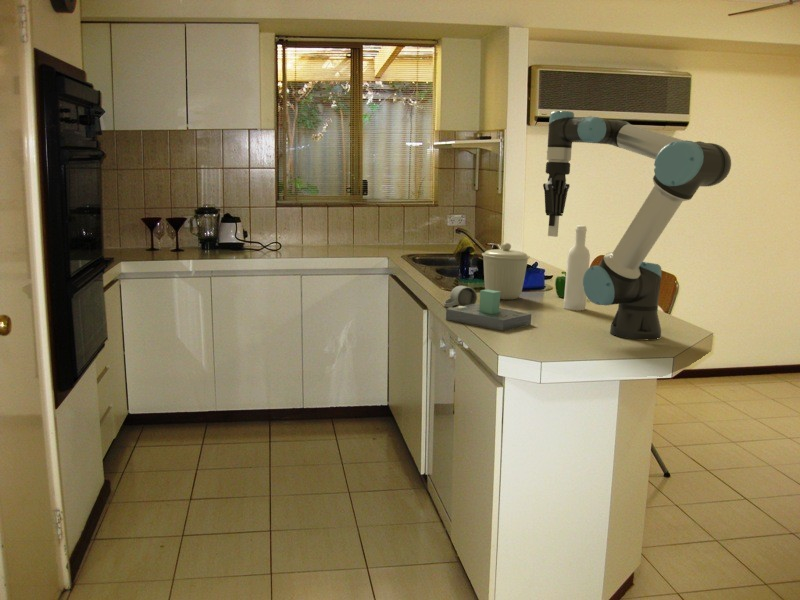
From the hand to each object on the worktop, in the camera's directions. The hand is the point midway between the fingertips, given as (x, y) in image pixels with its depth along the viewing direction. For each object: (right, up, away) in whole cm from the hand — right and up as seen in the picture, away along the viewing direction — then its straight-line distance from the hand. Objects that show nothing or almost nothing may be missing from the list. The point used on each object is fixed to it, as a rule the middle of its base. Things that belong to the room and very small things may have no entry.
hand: (552, 236), depth 252 cm
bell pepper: (+16, -20, +57) cm, 63 cm away
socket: (-21, -28, +1) cm, 34 cm away
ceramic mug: (-28, -23, +25) cm, 44 cm away
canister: (-10, -20, +49) cm, 54 cm away
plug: (-21, -27, +1) cm, 34 cm away
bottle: (+14, -24, +33) cm, 43 cm away
